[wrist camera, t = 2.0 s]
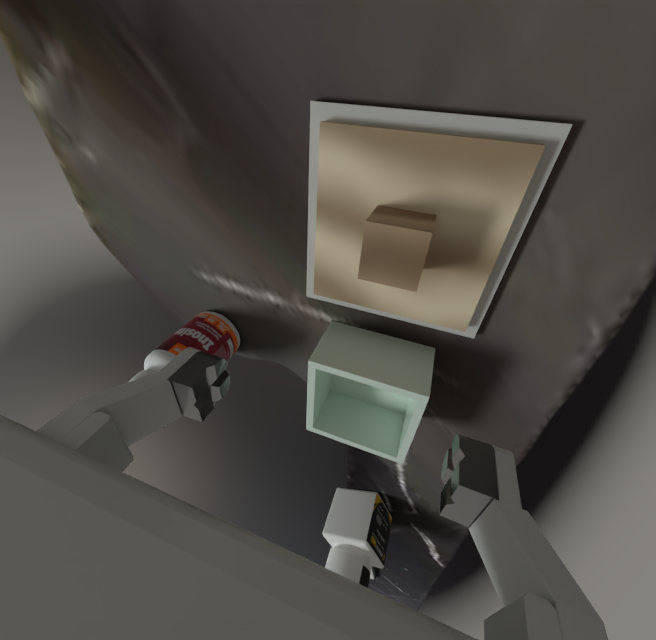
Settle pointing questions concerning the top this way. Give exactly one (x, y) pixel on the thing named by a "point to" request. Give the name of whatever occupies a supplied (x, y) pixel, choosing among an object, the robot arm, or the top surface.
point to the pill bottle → (195, 341)
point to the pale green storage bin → (368, 389)
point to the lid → (414, 217)
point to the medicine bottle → (357, 534)
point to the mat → (447, 124)
